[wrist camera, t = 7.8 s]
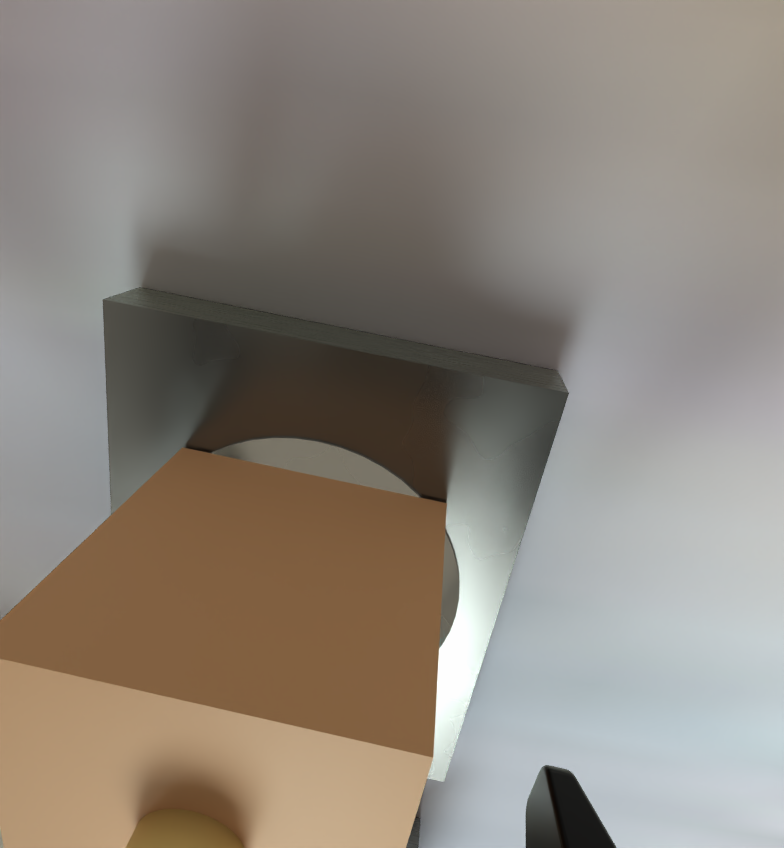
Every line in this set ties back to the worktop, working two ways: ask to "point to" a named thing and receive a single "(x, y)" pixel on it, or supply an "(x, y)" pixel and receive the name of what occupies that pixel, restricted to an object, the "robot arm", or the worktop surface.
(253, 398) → the plate
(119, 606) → the block
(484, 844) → the worktop surface
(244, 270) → the worktop surface
